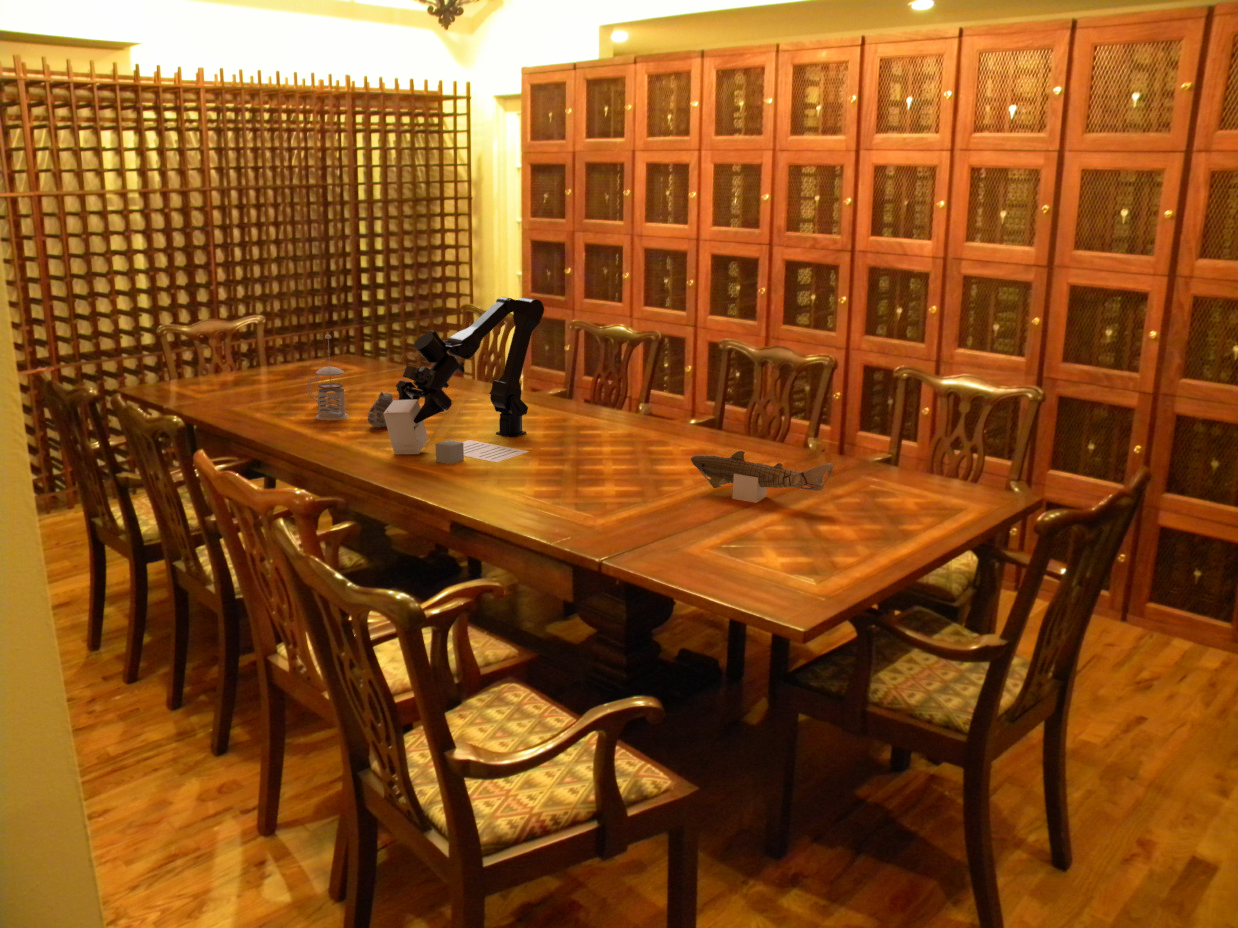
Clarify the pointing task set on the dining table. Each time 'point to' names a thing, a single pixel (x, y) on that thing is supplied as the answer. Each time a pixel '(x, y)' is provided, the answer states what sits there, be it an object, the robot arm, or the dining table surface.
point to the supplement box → (405, 427)
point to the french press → (330, 394)
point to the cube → (449, 452)
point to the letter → (489, 451)
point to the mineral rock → (379, 410)
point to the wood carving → (756, 476)
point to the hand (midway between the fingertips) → (404, 419)
